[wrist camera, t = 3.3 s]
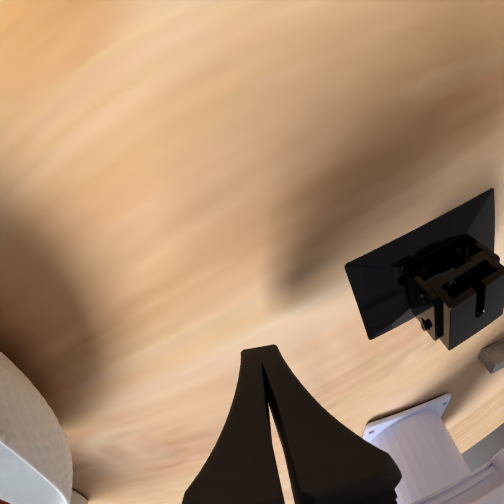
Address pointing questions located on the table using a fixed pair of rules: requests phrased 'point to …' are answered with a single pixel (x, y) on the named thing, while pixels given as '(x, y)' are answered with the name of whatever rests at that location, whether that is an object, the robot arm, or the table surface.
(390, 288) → the build plate
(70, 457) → the cereal bowl
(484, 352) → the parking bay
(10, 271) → the table surface
